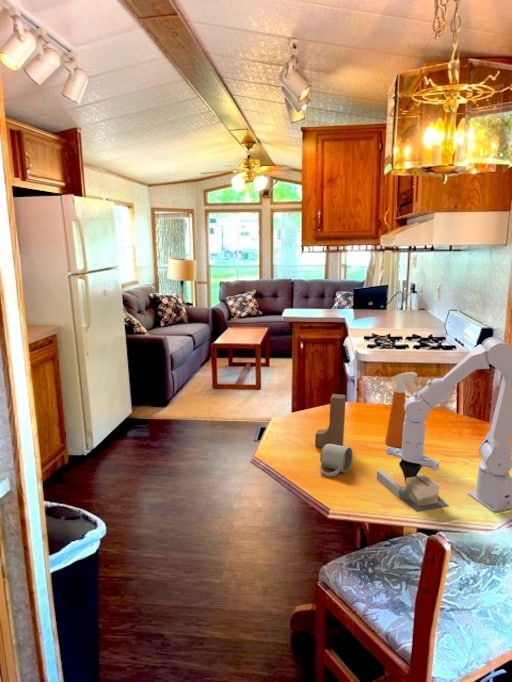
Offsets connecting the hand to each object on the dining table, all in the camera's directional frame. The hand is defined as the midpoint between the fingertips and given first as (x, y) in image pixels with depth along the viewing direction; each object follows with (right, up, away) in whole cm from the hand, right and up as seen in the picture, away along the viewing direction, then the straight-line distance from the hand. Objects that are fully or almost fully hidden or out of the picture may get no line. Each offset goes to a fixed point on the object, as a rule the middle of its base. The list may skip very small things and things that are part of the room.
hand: (409, 485), depth 134 cm
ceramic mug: (-19, +1, +11) cm, 22 cm away
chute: (-1, -1, +2) cm, 2 cm away
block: (+2, -2, -5) cm, 5 cm away
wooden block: (-18, +5, +29) cm, 35 cm away
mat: (+2, -2, -6) cm, 7 cm away
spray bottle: (+7, +5, +30) cm, 31 cm away
